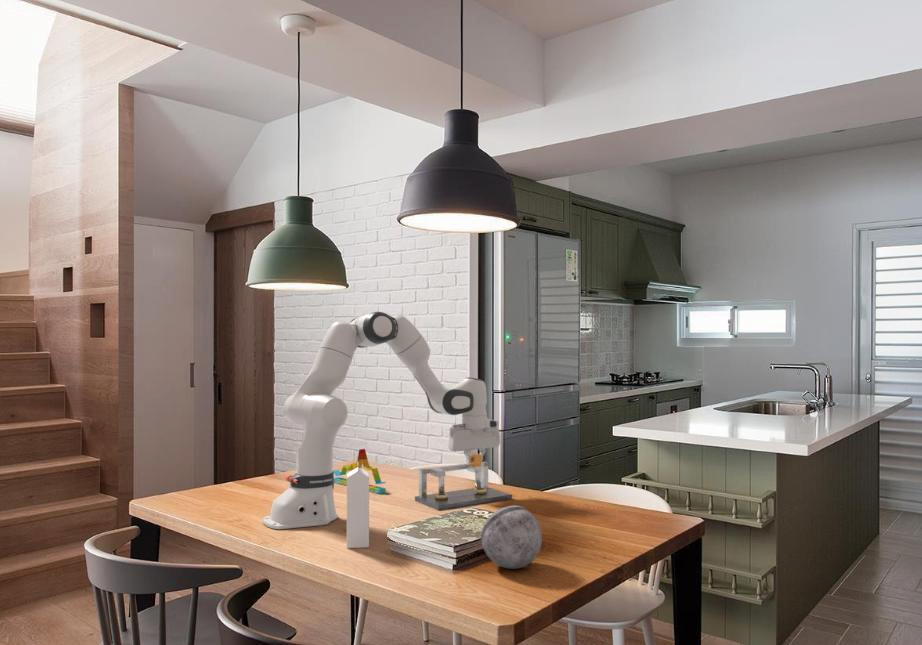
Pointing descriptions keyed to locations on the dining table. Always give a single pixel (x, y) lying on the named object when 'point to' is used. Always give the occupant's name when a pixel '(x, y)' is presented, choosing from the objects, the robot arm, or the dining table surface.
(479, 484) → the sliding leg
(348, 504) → the milk
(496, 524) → the decorative orb
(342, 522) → the dining table surface
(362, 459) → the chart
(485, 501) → the plate
